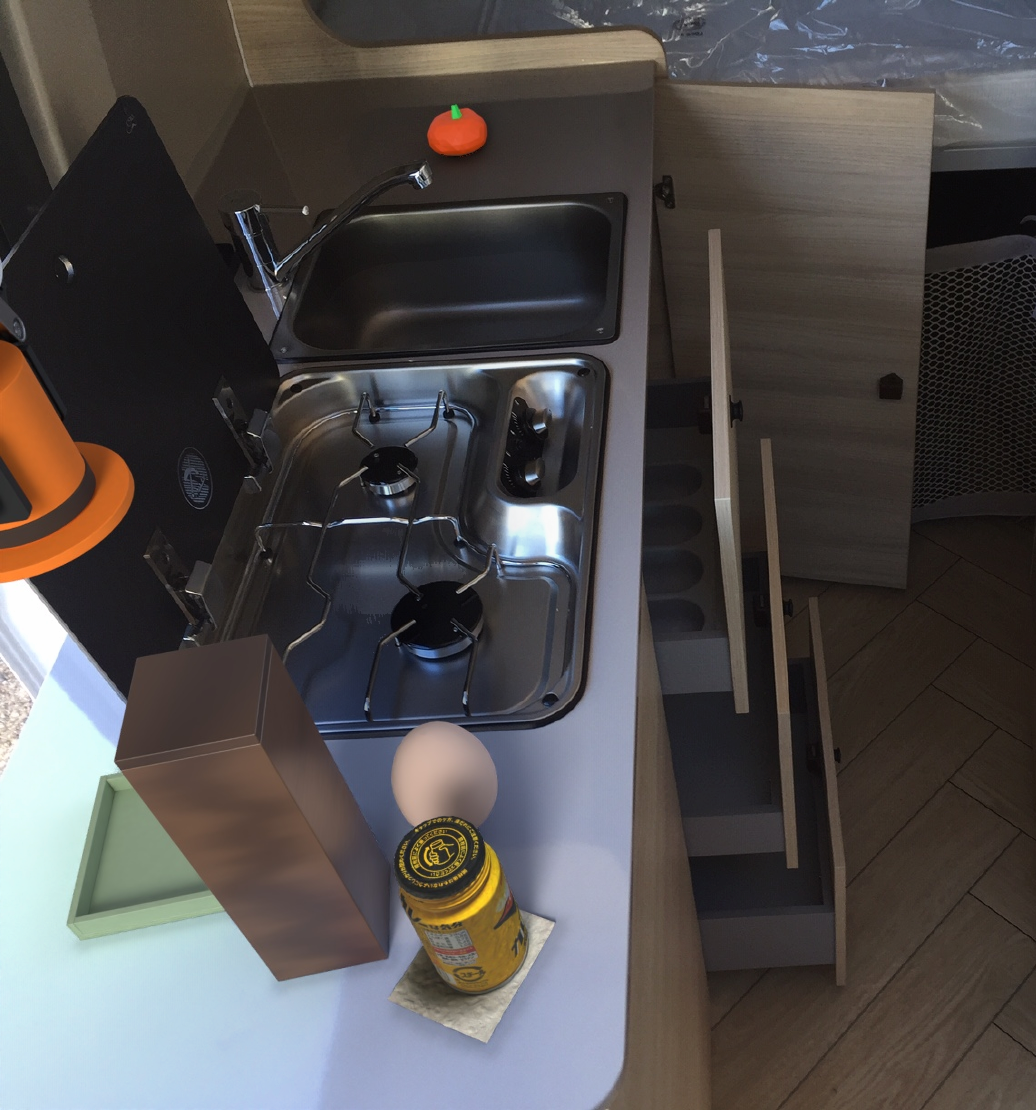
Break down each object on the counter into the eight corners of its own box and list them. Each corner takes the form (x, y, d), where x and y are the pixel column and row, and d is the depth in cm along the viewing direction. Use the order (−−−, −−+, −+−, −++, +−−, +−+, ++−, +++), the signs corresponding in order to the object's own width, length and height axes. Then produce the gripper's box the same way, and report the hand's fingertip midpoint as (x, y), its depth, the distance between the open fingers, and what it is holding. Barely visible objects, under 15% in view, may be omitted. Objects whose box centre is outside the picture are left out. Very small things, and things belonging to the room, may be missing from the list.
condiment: (556, 924, 78) (518, 822, 70) (487, 1044, 73) (437, 950, 65) (462, 888, 81) (414, 785, 72) (388, 1002, 76) (328, 905, 67)
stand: (278, 982, 77) (112, 761, 60) (286, 885, 82) (136, 657, 65) (388, 958, 78) (255, 734, 61) (390, 864, 83) (267, 632, 66)
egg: (413, 871, 82) (372, 790, 75) (412, 790, 87) (372, 706, 80) (513, 849, 83) (480, 766, 76) (506, 769, 87) (475, 685, 81)
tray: (80, 940, 80) (65, 925, 79) (112, 792, 89) (100, 775, 87) (263, 903, 81) (251, 887, 80) (278, 760, 90) (268, 743, 88)
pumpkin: (422, 154, 159) (409, 106, 154) (476, 134, 162) (465, 87, 157) (447, 173, 154) (434, 124, 150) (502, 151, 157) (491, 104, 153)
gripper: (-256, -7, 47) (-21, 371, 59) (-499, 207, 35) (-138, 626, 47) (-55, -33, 47) (135, 348, 60) (-224, 169, 35) (59, 593, 48)
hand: (13, 467), depth 54 cm, fingers closed on hat, 6 cm apart
